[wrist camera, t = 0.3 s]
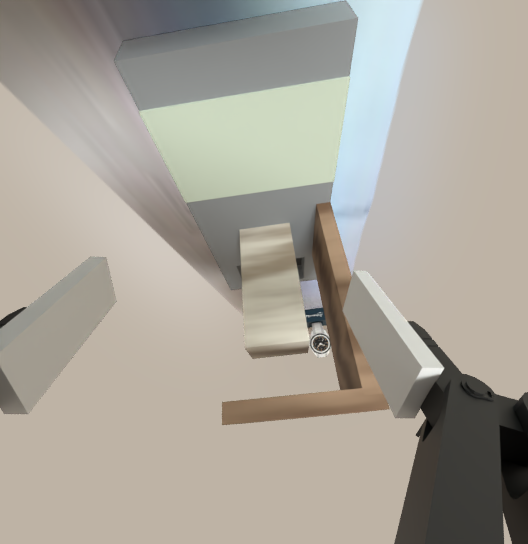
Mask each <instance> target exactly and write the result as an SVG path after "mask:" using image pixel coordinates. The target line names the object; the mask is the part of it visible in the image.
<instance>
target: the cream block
mask: <svg viewBox="0 0 528 544" xmlns="http://www.w3.org/2000/svg"><path fill="white" fill-rule="evenodd" d="M239 231H240V253H241V275H242V298H243V320H244V341H245V349H246V350H247V352H248V353H249V354H250V356H251V357H252V358H253V359H256V358H265V357H274V356H283V355H292V354H302V353H308V348H309V342H310V340H309V334H308V328H307V322H306V316H305V310H304V304H303V299H302V293H301V287H300V281H299V275H298V269H297V263H296V258H295V252H294V246H293V240H292V234H291V228H290V223H284V224H277V225H269V226H262V227H255V228H247V229H240V230H239Z"/></svg>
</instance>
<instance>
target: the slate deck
mask: <svg viewBox="0 0 528 544" xmlns="http://www.w3.org/2000/svg"><path fill="white" fill-rule="evenodd" d="M357 22H358V17H357V15H356V14H355V13H354V11H353V10H352V8H351V7H350V5H349V4H348V3H347V1H340V2H335V3H329V4H324V5H318V6H313V7H307V8H302V9H296V10H291V11H285V12H280V13H274V14H269V15H263V16H258V17H252V18H247V19H241V20H236V21H230V22H225V23H219V24H214V25H208V26H203V27H197V28H192V29H186V30H181V31H175V32H170V33H164V34H159V35H153V36H148V37H142V38H137V39H131V40H126V41H123V42H122V44H121V47H120V49H119V51H118V53H117V55H116V58H115V60H114V63H115V65H116V66H117V68H118V70H119V72H120V74H121V76H122V78H123V80H124V82H125V84H126V86H127V88H128V90H129V92H130V94H131V96H132V98H133V100H134V102H135V104H136V106H137V107H138V109H139V114H140V116H141V118H142V120H143V122H144V123H145V125H146V127H147V129H148V131H149V133H150V135H151V137H152V139H153V141H154V143H155V145H156V147H157V149H158V151H159V153H160V155H161V156H162V158H163V160H164V162H165V164H166V166H167V168H168V170H169V172H170V174H171V176H172V178H173V180H174V182H175V184H176V186H177V187H178V189H179V191H180V193H181V195H182V197H183V199H184V201H185V203H187V205H188V207H189V209H190V211H191V213H192V215H193V217H194V219H195V221H196V223H197V225H198V227H199V229H200V231H201V233H202V234H203V236H204V238H205V240H206V242H207V244H208V246H209V248H210V250H211V252H212V254H213V256H214V258H215V260H216V262H217V264H218V266H219V268H220V270H221V272H222V274H223V276H224V277H225V279H226V281H227V283H228V285H229V287H230V289H231V290H235V289H242V275H241V253H240V231H239V230H240V229H247V228H255V227H262V226H269V225H277V224H284V223H290V228H291V234H292V240H293V246H294V252H295V258H296V263H297V269H298V275H299V281H308V280H316V279H317V276H316V272H315V267H314V262H313V257H312V247H313V236H314V225H315V214H316V204H320V203H327V202H330V200H331V193H332V187H333V182H334V178H335V172H336V165H337V159H338V152H339V146H340V139H341V133H342V126H343V120H344V113H345V107H346V101H347V94H348V88H349V81H350V76H349V75H350V69H351V62H352V55H353V49H354V42H355V36H356V29H357Z"/></svg>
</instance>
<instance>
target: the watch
mask: <svg viewBox="0 0 528 544" xmlns="http://www.w3.org/2000/svg"><path fill="white" fill-rule="evenodd" d="M305 316H306V322H307V328H309V327H312V328H313V330H312V331H311V337H310V343H309V346H310V348H311V349H312V350H313V352H314V354H315V355H316V356H317V357H326V356H327V354H329V351H330V348H331V343H330V338H329V336H328V335H327V333H326V331H325V329H323V327H322V326H323V325H327V324H326V319H325V314H324V310H323V308H317V309H310V310H305Z"/></svg>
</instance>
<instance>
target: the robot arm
mask: <svg viewBox="0 0 528 544" xmlns="http://www.w3.org/2000/svg"><path fill="white" fill-rule="evenodd" d="M115 303H116V297H115V293H114V288H113V284H112V280H111V276H110V272H109V267H108V264H107V259H106V257H90V258H88V259H87V260H86V261H85V262H83V263H82V264H81V265H80V266H78V267H77V268H76V269H75V270H73V271H72V272H71V273H70V274H68V275H67V276H66V277H65V278H63V279H62V280H61V281H60V282H58V283H57V284H56V285H55V286H53V287H52V288H51V289H49V290H48V291H47V292H46V293H45V294H43V295H42V296H41V297H39V298H38V299H37V300H36V301H34V303H32V304H31V305H30V306H28V307H23V308H21V309H19V310H17V311H15V312H13V313H11V314H9V315H7V316H6V317H5V318H3V319H2V320H1V321H0V408H1V409H2V411H3V413H4V414H29V413H30V411H31V410H32V409H33V407H34V406H35V405H36V404H37V402H38V401H39V400H40V399H41V397H42V396H43V395H44V393H45V392H46V391H47V390H48V388H49V387H50V386H51V384H52V383H53V382H54V381H55V379H56V378H57V377H58V375H59V374H60V373H61V371H62V370H63V369H64V368H65V367H66V365H67V364H68V363H69V361H70V360H71V359H72V358H73V356H74V355H75V354H76V352H77V351H78V350H79V349H80V347H81V346H82V345H83V344H84V342H85V341H86V340H87V338H88V337H89V336H90V335H91V333H92V332H93V330H94V329H95V328H96V327H97V325H98V324H99V323H100V322H101V320H102V319H103V318H104V317H105V315H106V314H107V313H108V311H109V310H110V309H111V308H112V306H113V305H114V304H115ZM342 311H343V313H344V315H345V317H346V319H347V321H348V323H349V325H350V327H351V329H352V331H353V333H354V335H355V337H356V339H357V341H358V343H359V345H360V347H361V349H362V351H363V353H364V355H365V357H366V359H367V362H368V364H369V366H370V368H371V370H372V372H373V374H374V376H375V378H376V380H377V382H378V384H379V386H380V388H381V390H382V392H383V394H384V396H385V398H386V400H387V402H388V404H389V406H390V408H391V410H392V412H393V414H394V417H395V418H415V416H416V415H417V413H418V412H419V410H420V408H421V410H422V411H423V413H424V415H425V416H426V420H425V421H424V423H423V424H422V426H421V428H420V429H419V431H418V432H417V434H416V436H417V437H419V436H420V439H419V442H418V447H417V451H416V455H415V459H414V463H413V468H412V472H411V476H410V481H409V485H408V489H407V493H406V497H405V501H404V506H403V510H402V514H401V518H400V523H399V526H398V531H397V535H396V539H395V543H394V544H504V533H503V532H504V531H503V513H504V517H505V520H506V524H507V527H508V530H509V534H510V537H511V541H512V544H528V392H527V393H524V395H523V396H522V397H521V398H520V399H519V400H514V399H511V398H507V397H504V396H500V395H496V394H495V393H494V392H493V391H492V389H491V388H489V387H488V386H487V385H486V384H485V383H483V382H482V381H480V380H478V379H477V378H475V377H472V376H469V375H467V374H462V373H461V372H460V371H459V369H458V368H457V367H456V366H455V365H454V364H453V362H452V361H451V360H450V359H449V358H448V357H447V355H446V354H445V353H444V352H443V351H442V350H441V348H440V347H438V345H437V344H436V342H435V341H434V340H432V338H431V337H430V336H429V334H428V333H427V332H426V331H425V329H423V328H422V327H420V326H419V325H418V324H416V323H415V322H413V321H406V319H405V318H404V317H403V316H402V314H401V313H400V312H399V311H398V309H397V308H396V307H395V305H394V304H393V303H392V302H391V300H390V299H389V298H388V297H387V295H386V294H385V293H384V292H383V290H382V289H381V288H380V287H379V286H378V284H377V283H376V282H375V280H374V279H373V278H372V277H371V275H370V274H369V273H368V272H367V271H355V270H354V271H353V275H352V278H351V282H350V285H349V289H348V293H347V296H346V300H345V303H344V307H343V310H342Z"/></svg>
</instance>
